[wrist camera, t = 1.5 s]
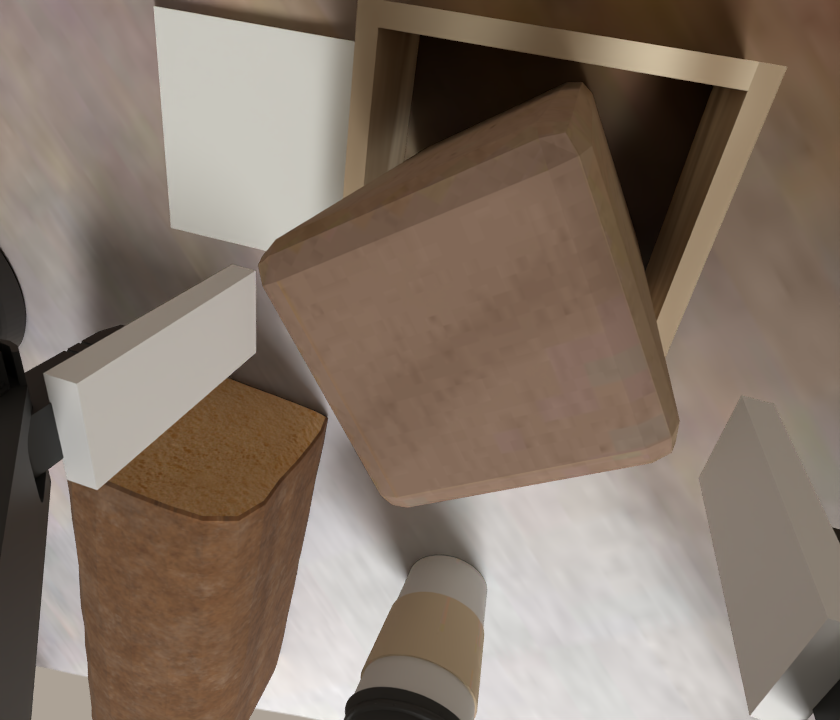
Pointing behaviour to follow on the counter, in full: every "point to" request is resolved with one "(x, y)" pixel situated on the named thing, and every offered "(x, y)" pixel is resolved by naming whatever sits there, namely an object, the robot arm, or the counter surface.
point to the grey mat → (250, 124)
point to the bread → (196, 558)
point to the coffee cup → (427, 648)
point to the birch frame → (732, 78)
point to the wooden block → (483, 311)
